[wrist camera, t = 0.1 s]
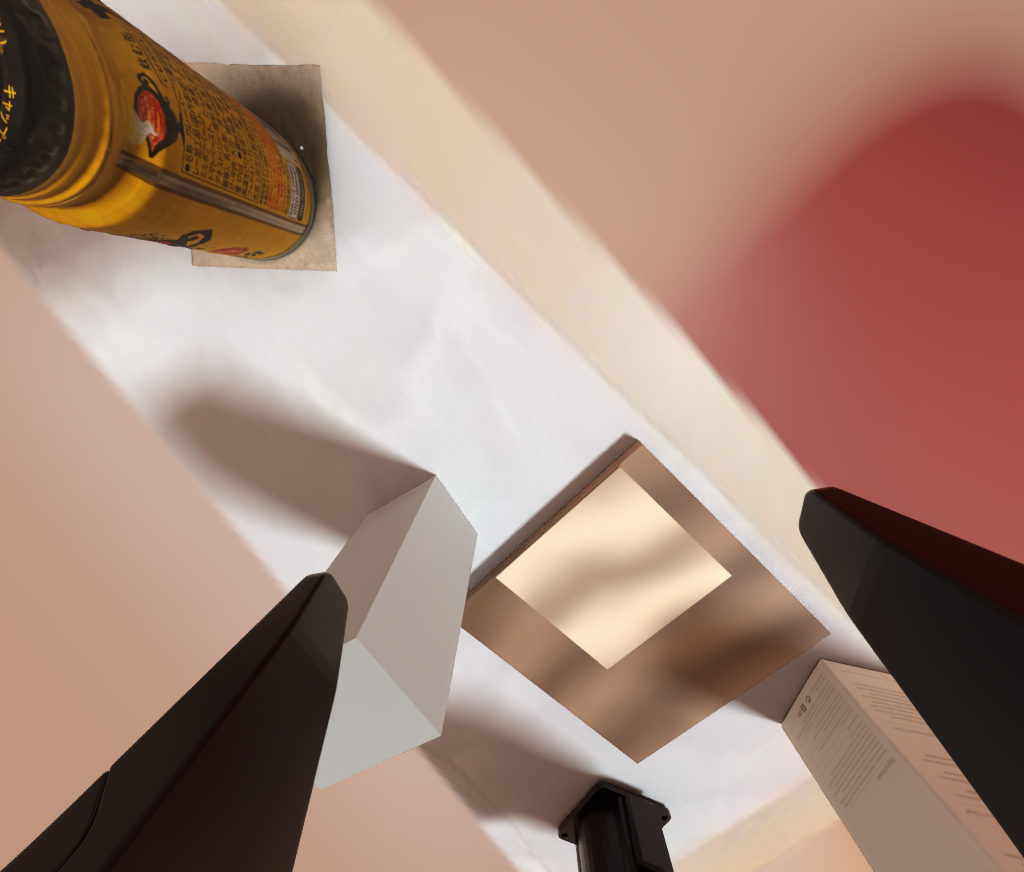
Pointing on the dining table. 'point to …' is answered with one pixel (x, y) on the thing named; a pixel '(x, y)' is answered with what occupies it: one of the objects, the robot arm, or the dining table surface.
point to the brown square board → (638, 609)
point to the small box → (892, 777)
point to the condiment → (162, 140)
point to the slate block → (397, 629)
